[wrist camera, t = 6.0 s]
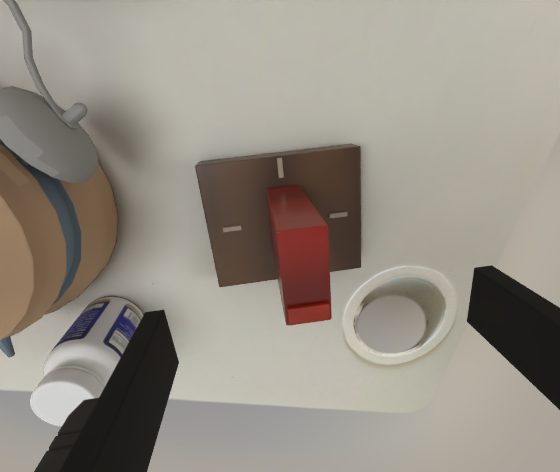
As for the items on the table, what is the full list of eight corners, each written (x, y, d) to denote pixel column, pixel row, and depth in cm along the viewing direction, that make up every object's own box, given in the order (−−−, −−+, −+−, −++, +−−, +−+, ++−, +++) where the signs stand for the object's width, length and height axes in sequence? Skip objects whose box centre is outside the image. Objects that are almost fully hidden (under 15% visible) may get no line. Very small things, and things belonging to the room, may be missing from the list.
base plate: (352, 143, 25) (361, 146, 23) (353, 257, 28) (362, 268, 26) (198, 161, 24) (194, 166, 22) (221, 275, 28) (219, 288, 26)
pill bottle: (81, 337, 29) (14, 428, 20) (87, 289, 27) (18, 367, 19) (141, 348, 30) (101, 438, 21) (151, 302, 28) (111, 381, 20)
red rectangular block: (265, 188, 23) (276, 233, 15) (299, 184, 23) (329, 226, 15) (273, 255, 25) (286, 329, 17) (303, 251, 25) (333, 322, 17)
